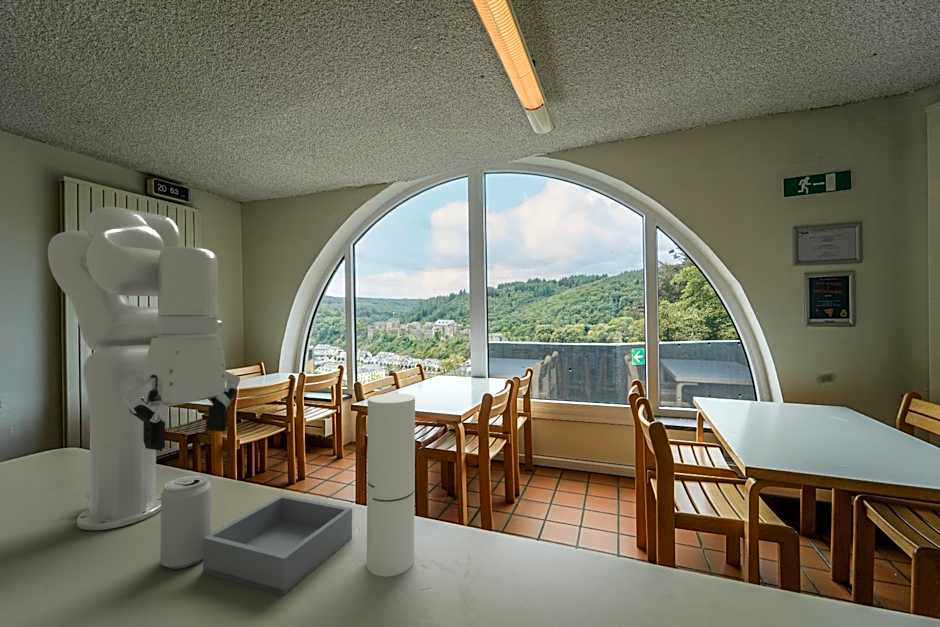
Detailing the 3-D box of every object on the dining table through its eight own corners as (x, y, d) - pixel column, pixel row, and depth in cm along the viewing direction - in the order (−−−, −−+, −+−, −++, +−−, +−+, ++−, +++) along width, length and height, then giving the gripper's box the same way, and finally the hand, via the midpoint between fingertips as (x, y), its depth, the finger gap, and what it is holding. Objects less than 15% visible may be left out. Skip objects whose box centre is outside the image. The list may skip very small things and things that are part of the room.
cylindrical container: (396, 542, 67) (397, 391, 67) (423, 561, 62) (424, 398, 62) (357, 561, 62) (358, 397, 62) (383, 583, 57) (384, 405, 57)
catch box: (202, 572, 59) (203, 537, 59) (281, 522, 73) (282, 495, 73) (284, 596, 54) (284, 558, 54) (351, 538, 68) (352, 508, 68)
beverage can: (185, 574, 58) (185, 491, 58) (148, 568, 60) (149, 487, 60) (220, 549, 65) (221, 474, 65) (187, 545, 66) (187, 471, 66)
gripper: (221, 326, 72) (221, 423, 71) (107, 329, 55) (106, 454, 55) (254, 326, 69) (254, 426, 69) (144, 329, 53) (143, 460, 53)
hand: (188, 439), depth 62 cm, fingers open, 9 cm apart
